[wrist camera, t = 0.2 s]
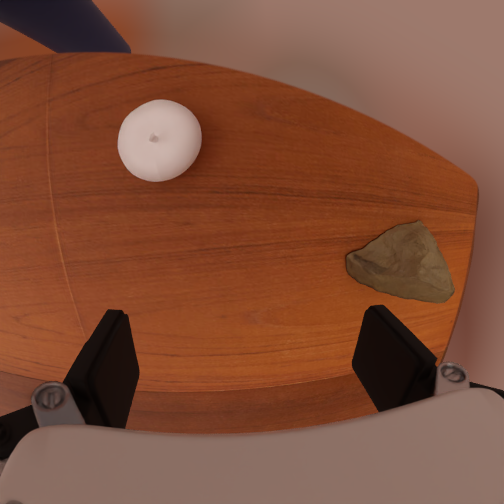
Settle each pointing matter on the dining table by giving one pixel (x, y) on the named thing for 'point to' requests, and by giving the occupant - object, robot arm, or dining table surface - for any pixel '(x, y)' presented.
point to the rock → (403, 265)
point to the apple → (159, 140)
